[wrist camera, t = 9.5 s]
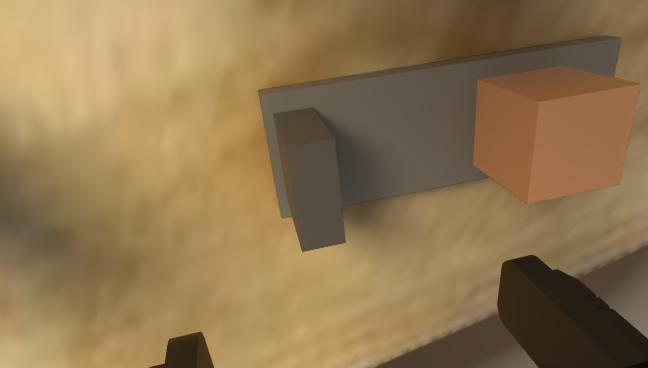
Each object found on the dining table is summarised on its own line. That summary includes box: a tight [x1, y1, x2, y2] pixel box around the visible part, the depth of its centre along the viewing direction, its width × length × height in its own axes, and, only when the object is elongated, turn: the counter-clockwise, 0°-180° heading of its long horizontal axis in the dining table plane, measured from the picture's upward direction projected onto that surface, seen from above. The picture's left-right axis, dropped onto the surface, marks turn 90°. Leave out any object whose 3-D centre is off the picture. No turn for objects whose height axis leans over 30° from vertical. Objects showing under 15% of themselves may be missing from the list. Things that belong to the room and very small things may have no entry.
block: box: [473, 66, 641, 204], centre depth 22 cm, size 5×5×5 cm
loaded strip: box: [258, 36, 621, 252], centre depth 22 cm, size 20×7×6 cm, turn 96°
